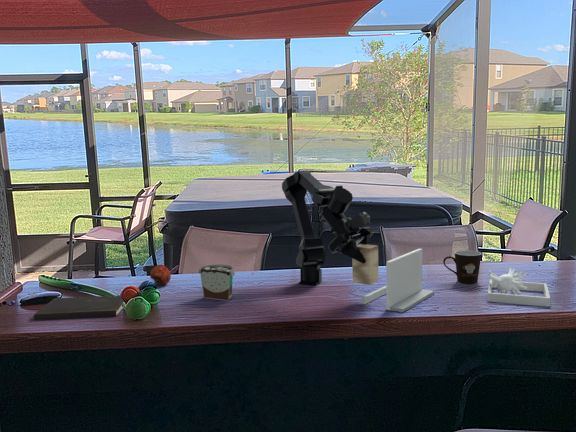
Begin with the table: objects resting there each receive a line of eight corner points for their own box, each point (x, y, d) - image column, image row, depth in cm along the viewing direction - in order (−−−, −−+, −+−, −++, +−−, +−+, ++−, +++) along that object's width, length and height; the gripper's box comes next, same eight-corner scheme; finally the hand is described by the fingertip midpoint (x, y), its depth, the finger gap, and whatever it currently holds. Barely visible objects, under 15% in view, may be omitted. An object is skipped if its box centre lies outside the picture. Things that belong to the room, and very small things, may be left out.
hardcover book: (54, 305, 165) (54, 298, 165) (129, 302, 167) (128, 295, 166) (34, 322, 149) (33, 314, 149) (116, 318, 151) (115, 310, 151)
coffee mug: (483, 280, 179) (484, 251, 178) (477, 286, 172) (478, 256, 171) (449, 276, 186) (449, 248, 184) (442, 282, 179) (442, 253, 177)
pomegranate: (162, 294, 180) (180, 273, 185) (148, 280, 177) (167, 258, 182) (152, 293, 186) (170, 271, 191) (138, 279, 182) (157, 258, 187)
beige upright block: (352, 282, 159) (352, 246, 157) (361, 278, 162) (360, 243, 161) (370, 285, 155) (370, 248, 153) (378, 281, 159) (378, 245, 157)
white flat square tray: (487, 301, 156) (487, 293, 156) (489, 286, 171) (489, 279, 171) (549, 306, 150) (550, 298, 149) (546, 291, 165) (546, 283, 165)
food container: (243, 296, 168) (241, 265, 167) (233, 301, 162) (231, 270, 161) (210, 292, 173) (209, 262, 172) (199, 297, 168) (198, 267, 166)
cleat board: (359, 304, 156) (359, 258, 154) (393, 287, 173) (393, 245, 172) (403, 312, 148) (403, 264, 146) (434, 294, 165) (434, 250, 163)
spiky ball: (489, 290, 171) (487, 265, 170) (530, 290, 166) (528, 264, 165) (486, 299, 161) (484, 272, 160) (529, 299, 155) (527, 271, 155)
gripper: (336, 207, 151) (370, 249, 145) (368, 201, 165) (401, 238, 160) (314, 232, 157) (346, 273, 151) (347, 224, 171) (378, 261, 166)
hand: (369, 260), depth 157 cm, fingers closed on beige upright block, 5 cm apart
